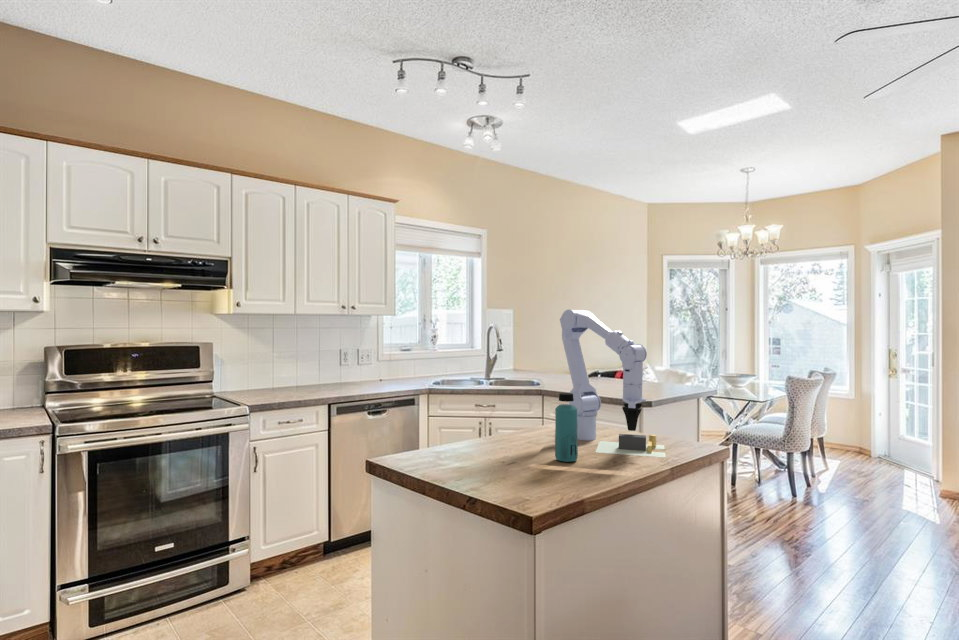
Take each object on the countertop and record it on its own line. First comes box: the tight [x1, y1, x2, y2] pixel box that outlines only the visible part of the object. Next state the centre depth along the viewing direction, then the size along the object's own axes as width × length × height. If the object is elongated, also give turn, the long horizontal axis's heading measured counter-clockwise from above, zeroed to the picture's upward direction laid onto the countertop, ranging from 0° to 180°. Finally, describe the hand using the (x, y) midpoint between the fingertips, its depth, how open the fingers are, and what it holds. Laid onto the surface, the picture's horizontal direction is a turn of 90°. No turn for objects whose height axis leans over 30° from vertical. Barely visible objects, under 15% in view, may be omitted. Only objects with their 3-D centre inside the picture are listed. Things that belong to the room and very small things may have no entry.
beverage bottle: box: [554, 392, 579, 462], centre depth 156 cm, size 6×7×20 cm
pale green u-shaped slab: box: [595, 434, 667, 459], centre depth 171 cm, size 20×16×4 cm
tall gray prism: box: [618, 433, 647, 451], centre depth 170 cm, size 8×4×4 cm, turn 74°
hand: (632, 428), depth 170 cm, fingers open, 7 cm apart
